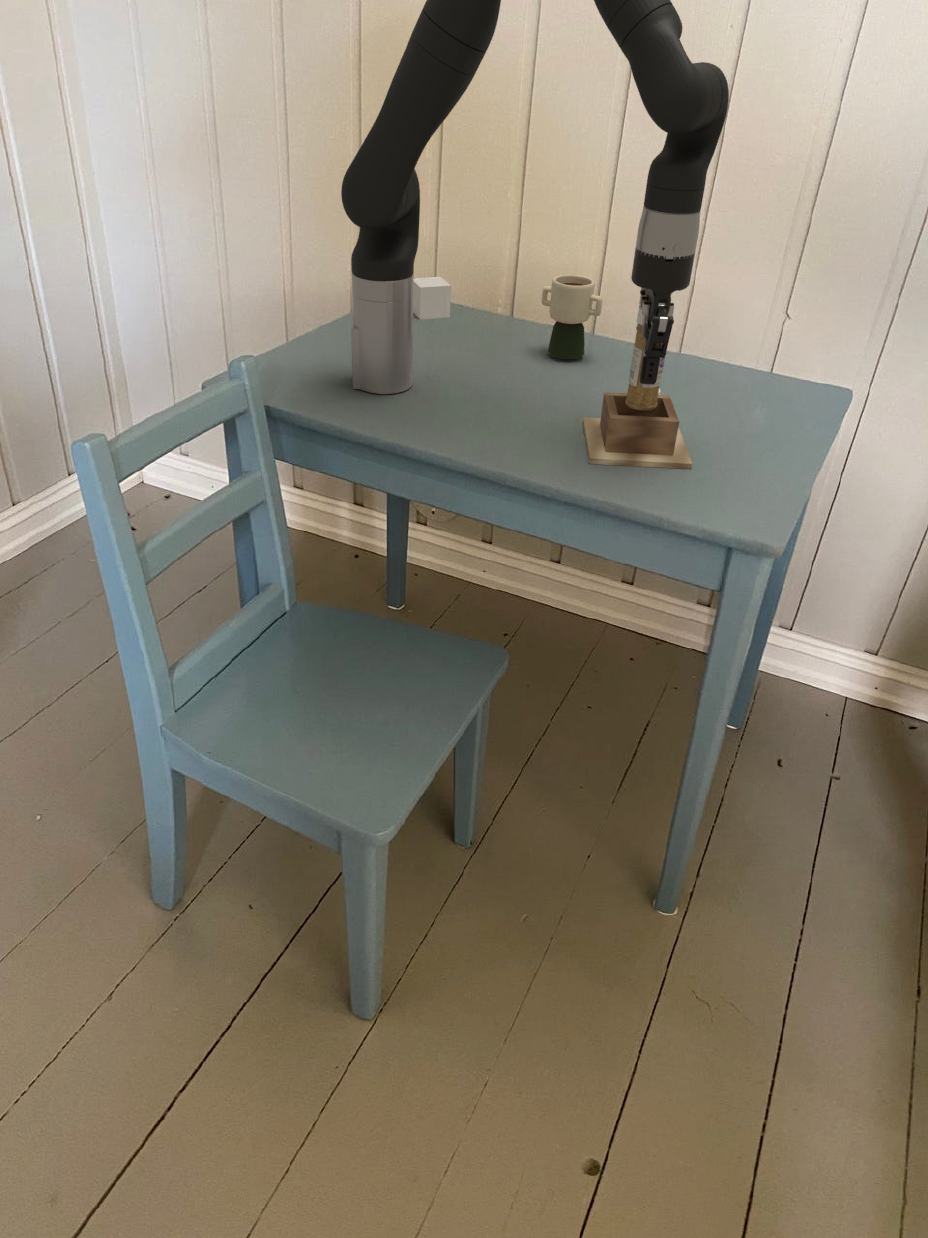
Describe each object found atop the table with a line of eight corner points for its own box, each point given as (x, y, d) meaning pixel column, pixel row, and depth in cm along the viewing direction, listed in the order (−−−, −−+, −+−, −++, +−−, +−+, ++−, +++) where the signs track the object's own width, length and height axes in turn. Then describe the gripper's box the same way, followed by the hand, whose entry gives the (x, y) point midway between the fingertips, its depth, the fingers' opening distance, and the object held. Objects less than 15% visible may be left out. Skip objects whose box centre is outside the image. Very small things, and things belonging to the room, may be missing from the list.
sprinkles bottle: (654, 413, 128) (671, 316, 120) (621, 408, 129) (636, 311, 121) (659, 401, 131) (675, 306, 123) (627, 396, 132) (641, 301, 124)
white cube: (439, 308, 181) (440, 276, 178) (450, 317, 177) (451, 285, 173) (410, 310, 179) (410, 278, 176) (420, 319, 175) (420, 287, 171)
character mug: (602, 356, 162) (612, 280, 155) (586, 369, 157) (596, 290, 150) (545, 344, 166) (552, 269, 159) (528, 355, 161) (535, 279, 154)
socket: (589, 463, 127) (594, 424, 124) (582, 422, 139) (587, 384, 136) (691, 468, 127) (699, 429, 124) (675, 426, 139) (682, 389, 135)
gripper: (629, 231, 123) (612, 356, 133) (643, 259, 112) (623, 395, 122) (686, 233, 123) (664, 359, 133) (705, 262, 112) (680, 398, 122)
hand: (645, 375), depth 127 cm, fingers closed on sprinkles bottle, 4 cm apart
